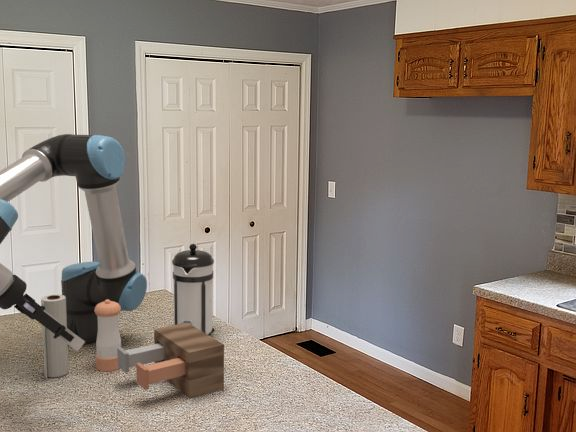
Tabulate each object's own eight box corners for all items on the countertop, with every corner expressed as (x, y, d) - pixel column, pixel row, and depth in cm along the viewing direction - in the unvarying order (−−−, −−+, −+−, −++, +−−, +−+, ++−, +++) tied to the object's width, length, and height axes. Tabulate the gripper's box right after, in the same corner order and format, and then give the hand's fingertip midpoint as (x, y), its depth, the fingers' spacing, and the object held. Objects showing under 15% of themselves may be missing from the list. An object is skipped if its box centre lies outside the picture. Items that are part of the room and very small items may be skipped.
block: (154, 371, 173) (154, 329, 171) (187, 363, 179) (187, 322, 177) (189, 398, 157) (188, 352, 155) (223, 388, 163) (224, 344, 161)
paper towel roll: (62, 367, 174) (59, 292, 170) (72, 373, 170) (69, 297, 166) (36, 374, 169) (33, 297, 165) (46, 381, 165) (42, 302, 161)
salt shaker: (111, 359, 180) (109, 294, 177) (128, 365, 176) (126, 299, 173) (90, 367, 174) (87, 300, 171) (107, 373, 170) (105, 305, 167)
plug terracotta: (136, 382, 155) (136, 363, 154) (187, 369, 163) (187, 351, 162) (145, 390, 151) (144, 370, 150) (196, 376, 159) (196, 357, 158)
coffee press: (228, 338, 198) (229, 245, 193) (181, 348, 189) (181, 251, 184) (203, 322, 212) (203, 235, 207) (158, 331, 203) (157, 240, 198)
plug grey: (117, 366, 164) (117, 348, 163) (167, 354, 173) (166, 337, 172) (125, 372, 160) (124, 354, 160) (175, 360, 169) (175, 343, 168)
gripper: (-24, 287, 149) (43, 335, 161) (4, 314, 130) (78, 367, 142) (-1, 262, 152) (63, 311, 163) (30, 285, 133) (100, 339, 144)
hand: (70, 337), depth 153 cm, fingers open, 13 cm apart
